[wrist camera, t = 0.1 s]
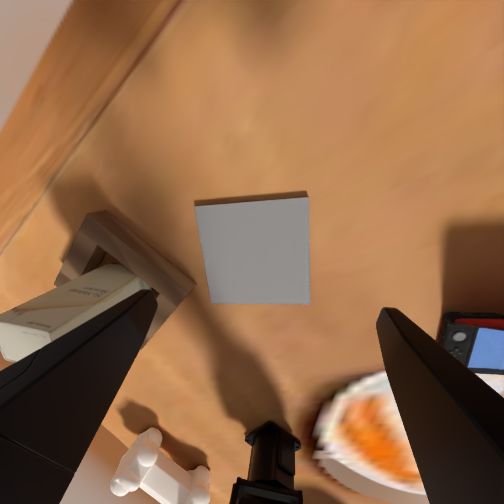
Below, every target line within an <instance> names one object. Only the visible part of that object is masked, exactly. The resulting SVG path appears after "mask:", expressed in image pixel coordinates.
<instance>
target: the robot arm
mask: <svg viewBox="0 0 504 504" xmlns="http://www.w3.org/2000/svg"><path fill="white" fill-rule="evenodd" d="M157 308H158V303H157V300H156V298H155V295H154V293H153V291H152V290H149V289H141V290H139V291H138V292H136V293H134V294H132V295H131V296H129V297H127V298H126V299H124V300H122V301H120V302H119V303H117V304H115V305H114V306H112V307H110V308H108V309H107V310H105V311H103V312H102V313H100V314H98V315H96V316H95V317H93V318H91V319H90V320H88V321H86V322H84V323H83V324H81V325H79V326H78V327H76V328H74V329H72V330H71V331H69V332H67V333H66V334H64V335H62V336H60V337H59V338H57V339H55V340H54V341H52V342H50V343H48V344H47V345H45V346H43V347H42V348H41V349H38V350H36V351H35V352H33V353H31V354H30V355H28V356H26V357H24V358H23V359H21V360H19V361H17V362H16V363H14V364H12V365H10V366H9V367H7V368H5V369H3V370H2V371H0V504H59V503H60V501H61V500H62V498H63V495H64V493H65V492H66V490H67V488H68V486H69V484H70V482H71V480H72V478H73V477H74V473H75V472H76V471H77V468H78V467H79V465H80V463H81V461H82V459H83V457H84V455H85V453H86V451H87V449H88V448H89V446H90V444H91V442H92V440H93V438H94V436H95V434H96V432H97V430H98V429H99V427H100V425H101V423H102V421H103V419H104V417H105V415H106V413H107V411H108V410H109V408H110V406H111V404H112V402H113V400H114V398H115V396H116V394H117V392H118V390H119V389H120V387H121V385H122V383H123V381H124V379H125V377H126V375H127V373H128V371H129V369H130V368H131V366H132V364H133V362H134V360H135V358H136V356H137V354H138V352H139V350H140V348H141V346H142V344H143V342H144V340H145V338H146V336H147V333H148V331H149V328H150V326H151V323H152V321H153V318H154V316H155V313H156V311H157ZM376 329H377V334H378V338H379V343H380V348H381V352H382V357H383V362H384V366H385V370H386V373H387V377H388V380H389V383H390V386H391V389H392V392H393V395H394V398H395V401H396V404H397V407H398V410H399V413H400V416H401V419H402V422H403V425H404V428H405V431H406V434H407V437H408V440H409V443H410V446H411V449H412V452H413V455H414V458H415V461H416V464H417V467H418V470H419V473H420V476H421V479H422V482H423V485H424V488H425V491H426V494H427V497H428V500H429V503H430V504H504V398H503V397H502V396H501V395H500V394H498V393H497V392H496V391H495V390H494V389H492V388H491V387H490V386H489V385H488V384H487V383H485V382H484V381H483V380H482V379H481V378H479V377H478V376H477V375H476V374H475V373H473V372H472V371H471V370H470V369H469V368H467V367H466V366H465V365H464V364H463V363H461V362H460V361H459V360H458V359H457V358H455V357H454V356H453V355H452V354H451V353H450V352H448V351H447V350H446V349H445V348H444V347H442V346H441V345H440V344H439V343H438V342H436V341H435V340H434V339H433V338H432V337H430V336H429V335H428V334H427V333H426V332H424V331H423V330H422V329H421V328H420V327H419V326H417V325H416V324H415V323H414V322H413V321H411V320H410V319H409V318H408V317H407V316H405V315H404V314H403V313H402V312H401V311H399V310H398V309H396V308H391V307H383V308H382V310H381V312H380V314H379V317H378V319H377V322H376ZM245 442H247V443H248V444H249V445H251V446H252V450H251V457H250V464H249V471H248V478H247V480H245V479H242V478H240V477H237V482H236V483H235V484H233V488H232V493H231V498H230V503H229V504H303V496H302V491H301V490H298V491H297V490H294V475H295V451H297V450H299V449H301V444H300V443H299V442H298V441H297V440H295V439H294V438H293V437H291V436H290V435H289V434H287V433H286V432H285V431H284V430H282V429H281V428H280V427H278V426H277V425H276V424H274V423H273V422H271V421H269V422H267V423H266V424H264V425H263V426H261V427H259V428H258V429H256V430H255V431H253V432H252V433H250V434H248V435H247V436H246V437H245Z"/></svg>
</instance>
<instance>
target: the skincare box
mask: <svg viewBox="0 0 504 504" xmlns="http://www.w3.org/2000/svg"><path fill="white" fill-rule="evenodd" d="M141 289H149V290H152V287H151V286H150V285H148V284H147V283H146V282H144V281H143V280H142V279H141V278H139V277H138V276H137V275H136V274H134V273H133V272H132V271H130V270H129V269H128V268H127V267H125V266H124V265H120V264H112V263H107V264H105V265H103V266H101V267H99V268H97V269H95V270H93V271H91V272H88V273H86V274H84V275H82V276H80V277H78V278H76V279H74V280H72V281H69V282H67V283H65V284H63V285H61V286H59V287H57V288H55V289H53V290H51V291H48V292H46V293H44V294H42V295H40V296H38V297H36V298H34V299H32V300H30V301H28V302H26V303H24V304H21V305H19V306H17V307H15V308H13V309H11V310H9V311H7V312H4V313H2V314H0V350H1V352H2V355H3V357H4V359H5V360H7V361H11V362H17V361H19V360H21V359H23V358H24V357H26V356H28V355H30V354H31V353H33V352H35V351H36V350H38V349H41V348H42V347H43V346H45V345H47V344H48V343H50V342H52V341H54V340H55V339H57V338H59V337H60V336H62V335H64V334H66V333H67V332H69V331H71V330H72V329H74V328H76V327H78V326H79V325H81V324H83V323H84V322H86V321H88V320H90V319H91V318H93V317H95V316H96V315H98V314H100V313H102V312H103V311H105V310H107V309H108V308H110V307H112V306H114V305H115V304H117V303H119V302H120V301H122V300H124V299H126V298H127V297H129V296H131V295H132V294H134V293H136V292H138V291H139V290H141Z"/></svg>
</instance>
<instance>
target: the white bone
mask: <svg viewBox="0 0 504 504" xmlns="http://www.w3.org/2000/svg"><path fill="white" fill-rule="evenodd" d="M161 442H162V434H161V432H160V431H159V430H158V429H157V428H154V427H151V428H149V429H148V430H147V431H145V432H143V433H141V434H139V435H138V436H137V439H136V440H135V442H134V443H133V444H132V446H131V447H130V448H129V450H128V451H127V452H126V454H125V455H123V457H122V458H121V460H120V464H119V466H118V468H117V470H116V473H115V475H114V476H113V478H112V479H111V482H110V488H111V491H112V492H113V493H114V494H115V495H117V496H124V495H125V494H126V493H128V491H135V490H136V489H138V487H140V488H141V489H143V490H144V491H145V492H147V493H148V494H149V495H151V496H152V497H153V498H155V499H156V500H157V501H159V502H160V503H161V504H208V503H209V501H210V492H209V484H210V479H211V476H210V472H209V470H208V469H207V468H206V467H205V466H202V465H200V466H198V467H197V468H196V469H195V470H188V471H185V470H184V469H183V468H181V467H180V466H179V465H178V464H176V463H175V462H174V461H172V460H171V459H170V458H169V457H167V456H166V455H165V454H164V453H162V452H161V451H160V450H159V448H160V445H161Z"/></svg>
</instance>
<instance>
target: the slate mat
mask: <svg viewBox="0 0 504 504" xmlns="http://www.w3.org/2000/svg"><path fill="white" fill-rule="evenodd" d="M195 213H196V219H197V225H198V230H199V236H200V242H201V247H202V253H203V259H204V265H205V270H206V276H207V282H208V287H209V293H210V299H211V303H213V304H310V250H309V197H299V198H287V199H275V200H262V201H250V202H238V203H226V204H214V205H202V206H195Z"/></svg>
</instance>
